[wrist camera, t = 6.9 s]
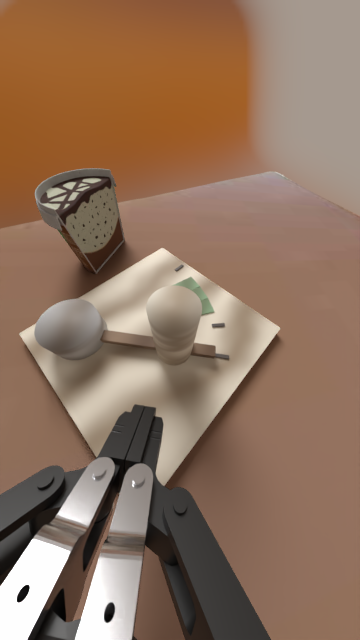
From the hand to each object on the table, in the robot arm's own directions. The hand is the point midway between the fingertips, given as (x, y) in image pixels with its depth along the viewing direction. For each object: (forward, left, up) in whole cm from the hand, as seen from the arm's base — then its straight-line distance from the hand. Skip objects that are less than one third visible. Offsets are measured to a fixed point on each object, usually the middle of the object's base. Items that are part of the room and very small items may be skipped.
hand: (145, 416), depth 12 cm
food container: (-26, +10, -6) cm, 29 cm away
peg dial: (-7, +3, -5) cm, 9 cm away
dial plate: (-7, +6, -6) cm, 11 cm away
